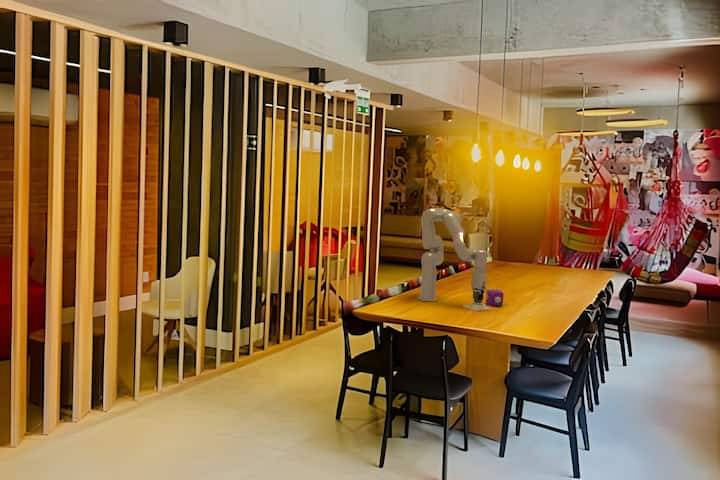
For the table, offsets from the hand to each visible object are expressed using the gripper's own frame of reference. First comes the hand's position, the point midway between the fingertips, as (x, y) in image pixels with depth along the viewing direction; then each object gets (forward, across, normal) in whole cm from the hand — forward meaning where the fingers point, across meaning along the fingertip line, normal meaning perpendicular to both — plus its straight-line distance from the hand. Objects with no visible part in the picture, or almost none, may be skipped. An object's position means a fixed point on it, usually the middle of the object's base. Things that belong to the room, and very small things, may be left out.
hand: (477, 298), depth 389 cm
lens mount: (+6, 0, 0) cm, 6 cm away
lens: (+2, 0, 0) cm, 2 cm away
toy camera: (+6, -7, +19) cm, 21 cm away
